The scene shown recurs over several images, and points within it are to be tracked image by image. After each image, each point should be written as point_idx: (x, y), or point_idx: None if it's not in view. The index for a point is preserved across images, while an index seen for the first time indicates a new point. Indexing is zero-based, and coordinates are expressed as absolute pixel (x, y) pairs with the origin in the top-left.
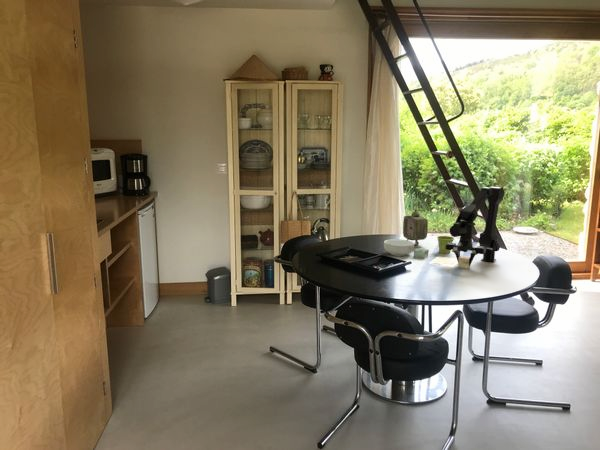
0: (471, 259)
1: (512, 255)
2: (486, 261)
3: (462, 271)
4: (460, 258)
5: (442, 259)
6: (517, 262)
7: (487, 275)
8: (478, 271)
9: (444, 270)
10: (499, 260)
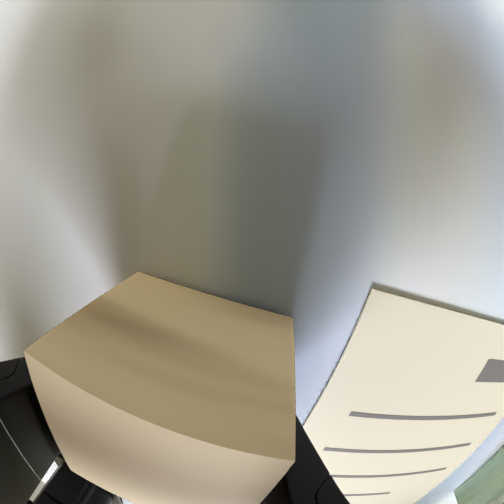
0: (21, 365)
1: None
2: None
3: (224, 73)
4: (238, 432)
5: (393, 493)
6: None
7: (10, 75)
8: (40, 178)
9: (476, 82)
10: None
